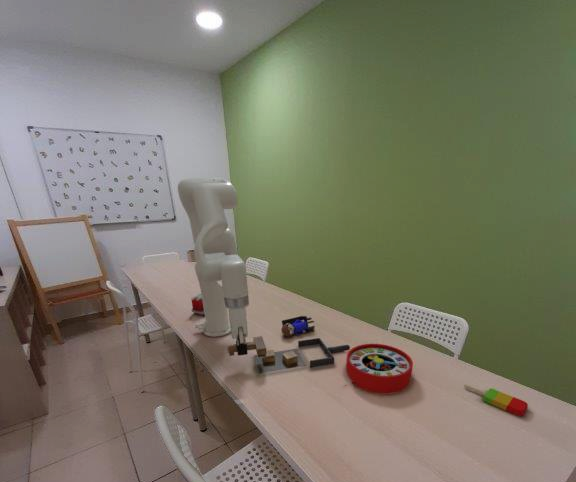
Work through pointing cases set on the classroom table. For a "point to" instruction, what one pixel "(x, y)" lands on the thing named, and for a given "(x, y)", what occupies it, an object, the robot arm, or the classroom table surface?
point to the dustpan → (326, 350)
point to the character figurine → (296, 325)
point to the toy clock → (379, 368)
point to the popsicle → (503, 401)
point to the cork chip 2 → (289, 357)
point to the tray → (278, 362)
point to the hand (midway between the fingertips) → (242, 352)
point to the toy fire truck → (197, 304)
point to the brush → (251, 347)
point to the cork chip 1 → (269, 356)
